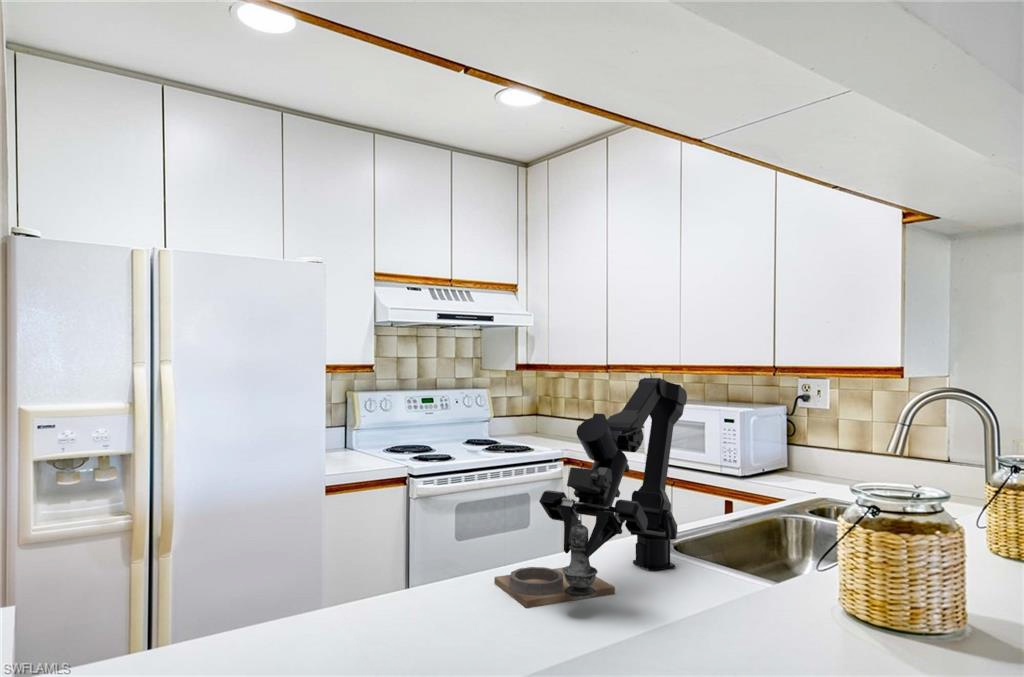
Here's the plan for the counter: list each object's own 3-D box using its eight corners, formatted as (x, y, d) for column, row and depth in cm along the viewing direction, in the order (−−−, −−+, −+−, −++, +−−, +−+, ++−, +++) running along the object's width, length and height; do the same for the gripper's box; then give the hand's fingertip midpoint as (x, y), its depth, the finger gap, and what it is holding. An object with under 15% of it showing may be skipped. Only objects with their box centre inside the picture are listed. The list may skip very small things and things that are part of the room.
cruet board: (576, 571, 129) (576, 555, 129) (614, 593, 116) (614, 575, 117) (494, 583, 122) (494, 566, 122) (526, 607, 109) (526, 588, 109)
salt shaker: (556, 589, 108) (555, 517, 109) (585, 584, 111) (585, 514, 111) (573, 600, 103) (573, 525, 103) (604, 595, 105) (604, 521, 106)
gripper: (544, 445, 116) (510, 518, 107) (640, 453, 106) (611, 535, 96) (566, 482, 122) (535, 554, 113) (658, 493, 112) (633, 574, 102)
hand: (575, 553), depth 106 cm, fingers closed on salt shaker, 4 cm apart
